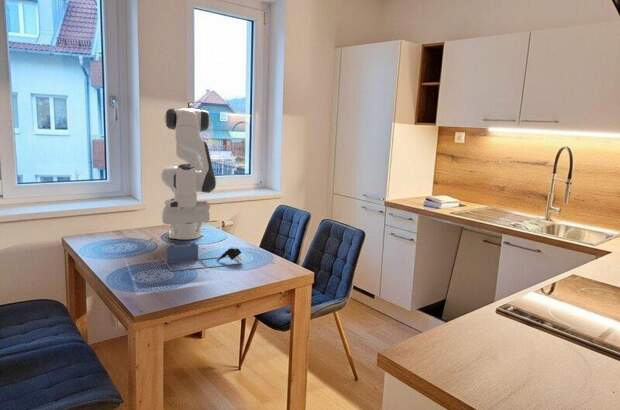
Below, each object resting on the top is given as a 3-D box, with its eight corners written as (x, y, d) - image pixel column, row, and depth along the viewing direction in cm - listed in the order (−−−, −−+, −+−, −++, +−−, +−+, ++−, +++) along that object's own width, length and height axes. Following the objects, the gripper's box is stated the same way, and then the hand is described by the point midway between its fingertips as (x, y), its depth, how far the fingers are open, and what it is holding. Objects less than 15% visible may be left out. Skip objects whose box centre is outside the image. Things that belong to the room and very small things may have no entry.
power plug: (218, 258, 208) (236, 243, 206) (228, 270, 208) (246, 256, 205) (213, 261, 203) (232, 246, 200) (223, 274, 203) (242, 259, 200)
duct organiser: (163, 261, 201) (163, 244, 200) (231, 255, 217) (231, 239, 215) (170, 271, 188) (170, 252, 187) (242, 264, 203) (242, 246, 202)
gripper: (207, 199, 201) (207, 229, 204) (161, 201, 192) (161, 232, 194) (211, 202, 196) (211, 232, 198) (163, 203, 186) (164, 235, 189)
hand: (186, 232), depth 196 cm, fingers open, 8 cm apart
